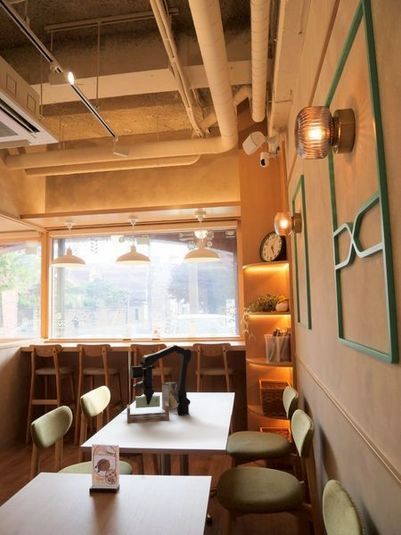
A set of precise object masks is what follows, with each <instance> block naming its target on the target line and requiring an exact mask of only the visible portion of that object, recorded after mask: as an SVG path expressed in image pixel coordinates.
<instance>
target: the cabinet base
mask: <svg viewBox="0 0 401 535" xmlns="http://www.w3.org/2000/svg"><path fill="white" fill-rule="evenodd" d="M126 419H127V420H126V422H127V424H134V423H135V424H136V423H145V422H146V423H149V422H151V423H152V422H164V421H170V410H169V405H168V403H165V409H164V411H162V412H147V413H146V412H145V413H143V412H142V413H131V405H130V404H127V405H126Z"/></svg>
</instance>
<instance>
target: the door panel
mask: <svg viewBox="0 0 401 535" xmlns="http://www.w3.org/2000/svg"><path fill="white" fill-rule="evenodd" d="M159 407H161V396H160V395H159V394H157V395H154V394H153V396H152V398H151V401H150V404H149V405H147V401H146V396H145V395H141V396H137V395H136V396H135V409H142V408H143V409H144V408H145V409H146V408H159Z"/></svg>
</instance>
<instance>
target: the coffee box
mask: <svg viewBox="0 0 401 535" xmlns="http://www.w3.org/2000/svg"><path fill="white" fill-rule="evenodd" d="M177 387H178V381H177V382H176V381H175V382H174V381H169V382H163V383H161V405H162V407H161V408H162V410H165V403H168V405H169V411H170V410H172V409H175V408H176V409H177V406H178V404H179V403H177V401H176V400H175V399H174V396H173V394H174V389H176V388H177Z"/></svg>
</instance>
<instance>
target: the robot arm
mask: <svg viewBox="0 0 401 535" xmlns="http://www.w3.org/2000/svg"><path fill="white" fill-rule="evenodd" d="M173 353H175V354H177V355H178V357H179V362H180V365H179V374H178V381H177V382H178V387H177V388H176V389H174V394H173V396H174V399H175V400H176V401H177V403H178V406H177V407H176V413H177V415H178V416H181V417H182V416H190V407H189V406H190V405H191V400H190V399H189V398H188V394H187V392H188V391H187V389H186V383H187V376H188V375H187V374H188V368H189V367H188V366H189V363H190V361H191V358H192V355H193V352H192V350H191V349H190V348H183V347H180V346H179V345H177V344H171V345H170V346H168V347H165V348H164V349H160V350H159V351H157V352H153V353H149V354H145V355H143V356H142V357H141V361H140V362H139V364H138V365H136V366H131V367H130V370H129V377H130V379H132V380H133V379H140V378H142V380H141V381H139V382H137V383H135V384H132V385H133V386H132V387H133V389H134V391H135V392H136V391H139V390H142V394H143V396H146V401H147V405H149V404H150V401H151V398H152V396H154V394H155V389H154V386H153V384H154V382H153V381H154V379H153V378H154V377H153V370H156V369H157V368H156V366H155V365H154V364H155V363H157V362H158V360H160V359H162V358H164V357H167V356H168V355H171V354H173Z"/></svg>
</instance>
